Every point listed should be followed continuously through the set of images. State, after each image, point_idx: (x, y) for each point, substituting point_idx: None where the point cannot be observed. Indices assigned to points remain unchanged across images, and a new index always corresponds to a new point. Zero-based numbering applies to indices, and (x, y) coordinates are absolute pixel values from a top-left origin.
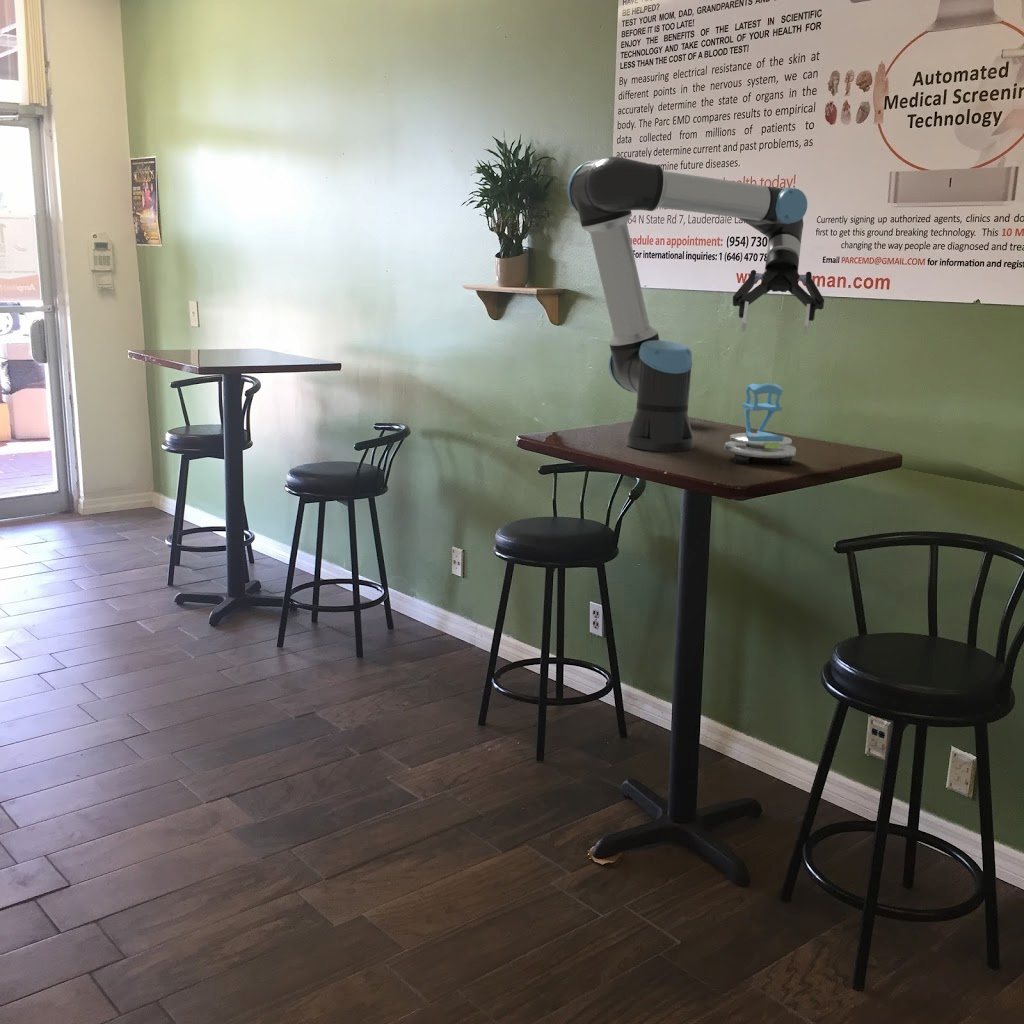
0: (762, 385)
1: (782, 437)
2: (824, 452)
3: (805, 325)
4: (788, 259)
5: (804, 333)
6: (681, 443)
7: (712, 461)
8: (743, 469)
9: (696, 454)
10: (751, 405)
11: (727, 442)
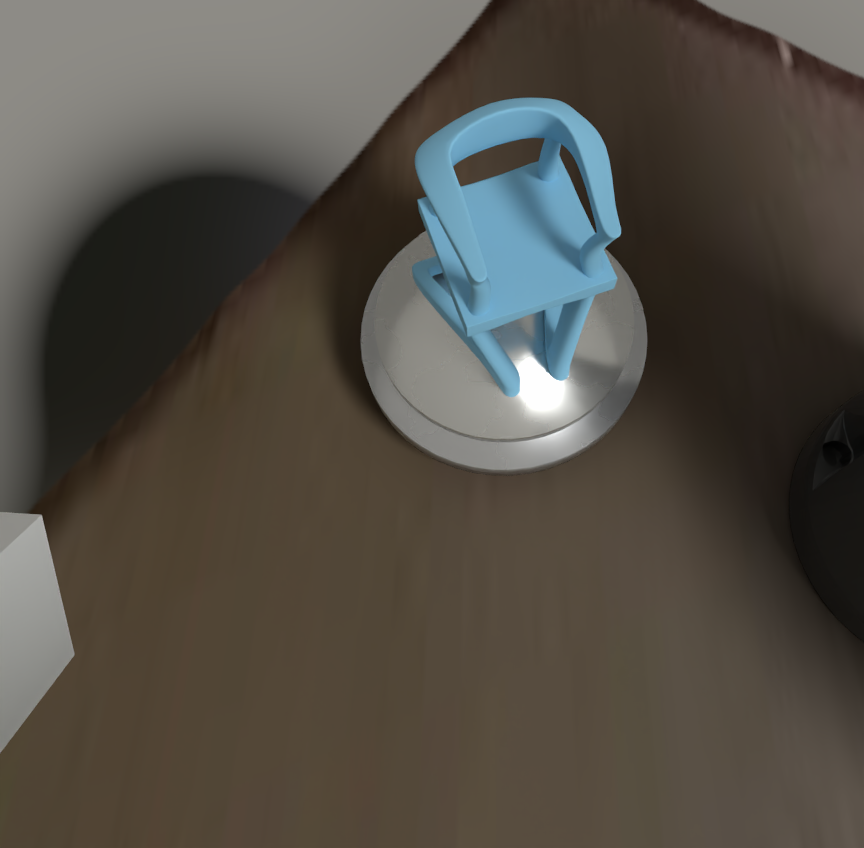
0: (527, 100)
1: (416, 264)
2: (208, 675)
3: (27, 516)
4: None
5: (67, 652)
6: (836, 411)
7: (668, 281)
8: None
9: (749, 399)
10: (567, 210)
11: (638, 365)
